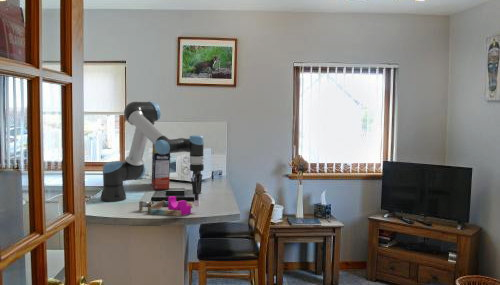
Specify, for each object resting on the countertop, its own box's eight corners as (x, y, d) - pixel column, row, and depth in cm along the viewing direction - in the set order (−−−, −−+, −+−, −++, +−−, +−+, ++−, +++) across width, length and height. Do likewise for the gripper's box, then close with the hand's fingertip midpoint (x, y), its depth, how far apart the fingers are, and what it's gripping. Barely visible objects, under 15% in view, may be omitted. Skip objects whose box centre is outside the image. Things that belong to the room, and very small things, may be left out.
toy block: (190, 213, 228) (190, 200, 227) (180, 215, 224) (180, 201, 224) (178, 208, 240) (178, 195, 239) (168, 209, 236) (168, 196, 236)
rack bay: (148, 213, 226) (147, 208, 226) (162, 205, 246) (162, 200, 246) (180, 215, 223) (180, 210, 222) (192, 207, 242) (192, 201, 242)
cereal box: (169, 190, 291) (171, 144, 289) (153, 190, 288) (154, 144, 286) (166, 183, 317) (167, 141, 314) (150, 183, 313) (151, 141, 311)
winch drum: (138, 210, 232) (138, 202, 232) (142, 209, 237) (142, 200, 236) (150, 211, 231) (150, 202, 230) (153, 209, 235) (153, 200, 235)
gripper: (199, 165, 222) (199, 208, 224) (206, 162, 235) (207, 203, 236) (186, 164, 223) (186, 208, 225) (194, 161, 236) (194, 202, 238)
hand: (197, 205), depth 231 cm, fingers closed
